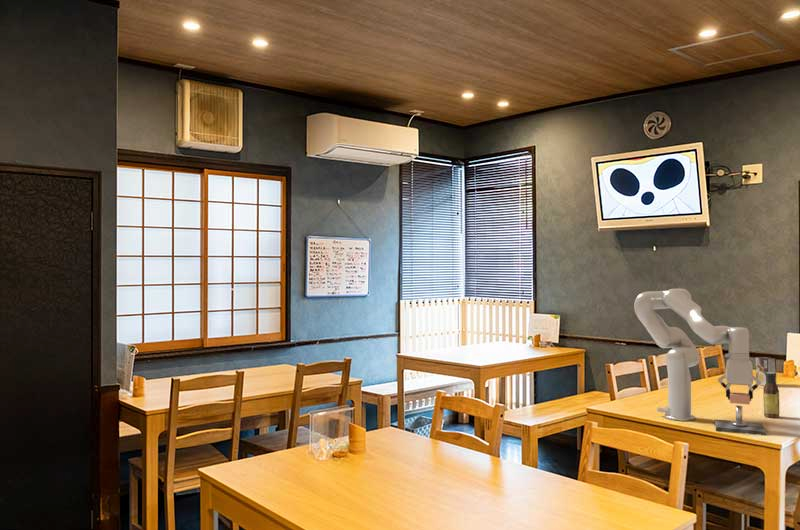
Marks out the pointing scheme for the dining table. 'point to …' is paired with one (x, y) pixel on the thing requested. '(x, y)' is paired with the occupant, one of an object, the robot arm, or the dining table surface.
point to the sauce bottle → (771, 396)
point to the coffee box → (764, 368)
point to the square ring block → (739, 398)
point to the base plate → (750, 429)
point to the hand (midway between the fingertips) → (739, 399)
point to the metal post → (739, 418)
